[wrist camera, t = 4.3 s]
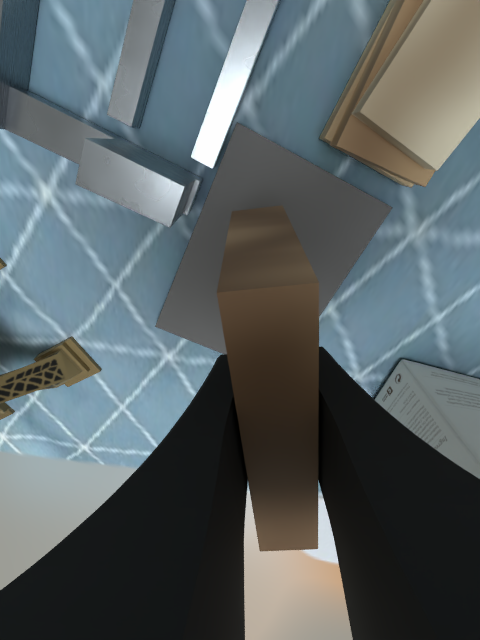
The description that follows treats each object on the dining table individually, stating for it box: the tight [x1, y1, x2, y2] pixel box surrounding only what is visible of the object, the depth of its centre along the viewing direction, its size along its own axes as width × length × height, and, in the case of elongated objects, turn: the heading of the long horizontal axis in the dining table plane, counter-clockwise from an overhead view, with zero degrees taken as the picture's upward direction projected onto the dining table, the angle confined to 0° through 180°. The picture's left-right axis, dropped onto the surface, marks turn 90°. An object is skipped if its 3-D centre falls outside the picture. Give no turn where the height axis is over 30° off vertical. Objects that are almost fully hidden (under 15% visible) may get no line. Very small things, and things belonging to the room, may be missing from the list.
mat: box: [155, 123, 392, 354], centre depth 17 cm, size 8×11×1 cm
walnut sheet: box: [217, 205, 319, 551], centre depth 10 cm, size 2×8×6 cm, turn 6°
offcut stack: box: [319, 0, 480, 188], centre depth 12 cm, size 4×7×3 cm, turn 155°
